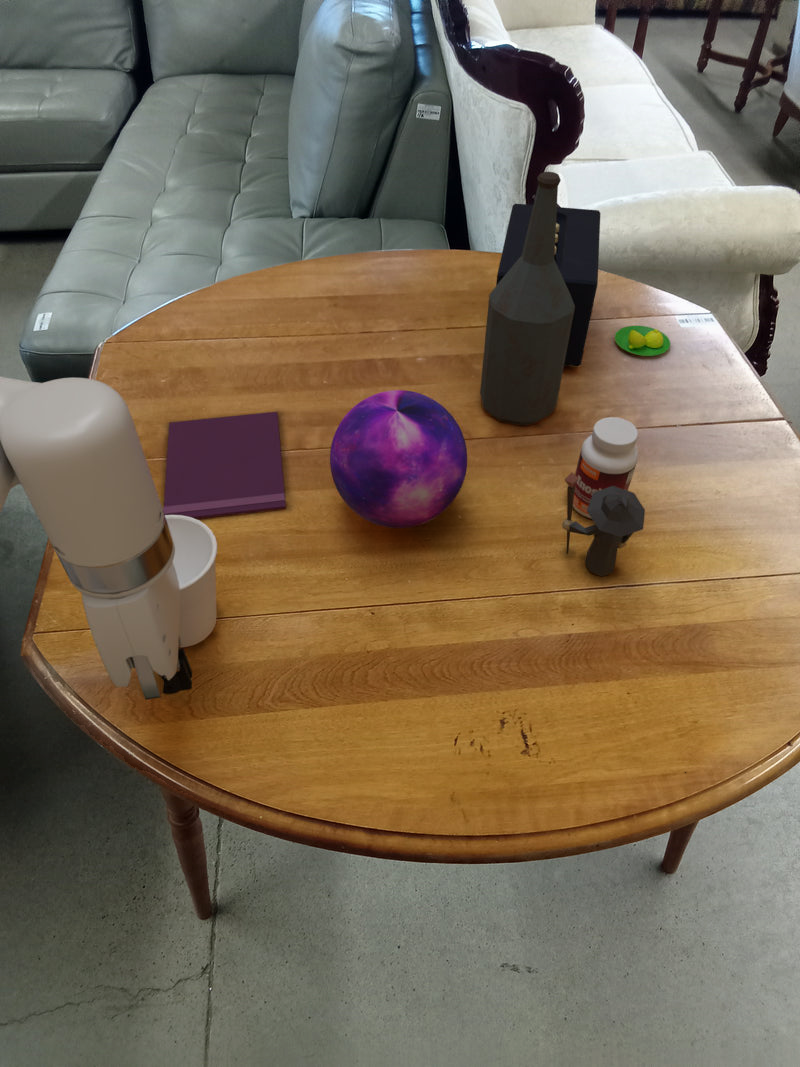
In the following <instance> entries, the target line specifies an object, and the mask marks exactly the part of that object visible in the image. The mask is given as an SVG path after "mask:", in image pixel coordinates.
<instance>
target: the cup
mask: <svg viewBox="0 0 800 1067" xmlns="http://www.w3.org/2000/svg"><path fill="white" fill-rule="evenodd" d="M165 517H166V520H167V523H168V526H169V529H170V532H171V535H172V538H173V541H174V546H175V554H174V559H173V561H172V562H173V564H174V567H175V570H176V574H177V577H178V581H179V586H180V624H179V635H180V640H181V647H180V648H188V647H191V646H195V645H197V644H199V643H201V642H202V641H204V640H205V639H206V638H208V637H209V636H210V634H212V632H213V631H214V628H215V627H216V624H217V618H218V617H217V613H218V612H217V582H216V580H217V577H216V576H217V575H216V557H217V554H218V542H217V538H216V536H215V534H214V532H213V531H212V530H211V528H210V527H209V526H208V525H207V524H206V523H204V522H202V521H201V520H200V519H194V518H192V517H188V516H183V515H165Z"/></svg>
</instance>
